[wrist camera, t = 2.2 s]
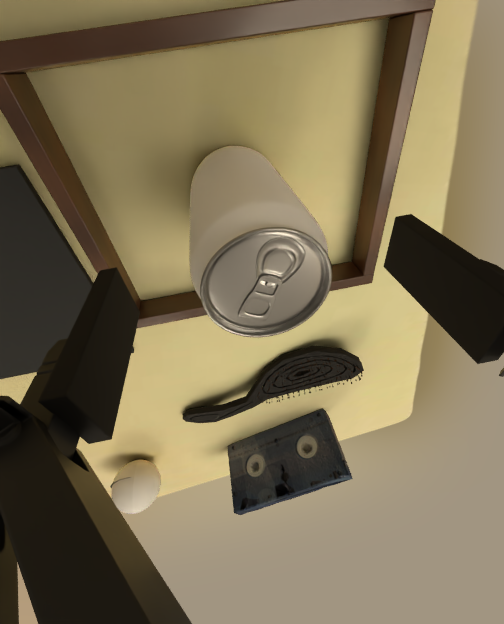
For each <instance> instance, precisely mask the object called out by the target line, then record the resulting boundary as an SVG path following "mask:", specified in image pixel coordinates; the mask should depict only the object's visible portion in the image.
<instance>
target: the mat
mask: <svg viewBox="0 0 504 624" xmlns="http://www.w3.org/2000/svg"><path fill="white" fill-rule="evenodd" d="M92 286H93V282H92V281H91V279H90V277H89V276H88V274H87V272H86V271H85V269H84V268H83V266H82V264H81V263H80V261H79V260H78V258H77V256H76V255H75V253H74V252H73V250H72V248H71V247H70V245H69V244H68V242H67V240H66V239H65V237H64V236H63V234H62V232H61V231H60V229H59V228H58V226H57V224H56V223H55V221H54V219H53V218H52V216H51V215H50V213H49V211H48V210H47V208H46V207H45V205H44V203H43V202H42V200H41V199H40V197H39V195H38V194H37V192H36V191H35V189H34V187H33V186H32V184H31V183H30V181H29V179H28V178H27V176H26V175H25V173H24V171H23V170H22V168H21V166H20V165H13V166H7V167H1V168H0V379H3V378H8V377H13V376H18V375H23V374H28V373H33V372H37V371H38V369H39V367H40V366H42V362H43V360H44V358H45V356H46V354H47V352H48V351H49V350H50V349H51V348H52V347H53V346H54V345H55V344H56V342H57V341H58V340H62V339H67V338H68V336H69V334H70V332H71V330H72V328H73V326H74V324H75V322H76V320H77V317H78V315H79V313H80V311H81V309H82V307H83V305H84V303H85V301H86V298H87V296H88V294H89V292H90V290H91V288H92ZM131 353H134V348H133V346H132V351H131Z"/></svg>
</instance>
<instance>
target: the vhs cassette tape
mask: <svg viewBox="0 0 504 624" xmlns="http://www.w3.org/2000/svg"><path fill="white" fill-rule="evenodd" d="M228 457H229V467H230V477H231V486H232V497H233V507H234V513H236V514H238V515H242V514H245V513H247V512H251V511H255V510H258V509H261V508H263V507H267V506H270V505H273V504H276V503H279V502H282V501H285V500H289V499H292V498H295V497H298V496H301V495H304V494H307V493H311V492H313V491H316V490H319V489H321V488H323V487H327V486H331V485H335V484H338V483H341V482H344V481H347V480H350V479H352V476H351V473H350V471H349V467H348V465H347V462H346V460H345V457H344V454H343V452H342V449H341V446H340V444H339V442H338V439H337V437H336V434H335V431H334V429H333V426H332V423H331V421H330V418H329V416H328V414H327V413H326V412H325V410H324V409H320V410H318V411H315V412H313V413H311V414H308V415H305V416H302V417H300V418H297V419H295V420H292V421H289V422H287V423H285V424H282V425H279V426H277V427H275V428H272V429H269V430H266V431H264V432H261V433H259V434H256V435H254V436H251V437H249V438H246V439H244V440H241V441H239V442H236V443H233V444H231V445H229V446H228Z"/></svg>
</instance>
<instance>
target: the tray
mask: <svg viewBox="0 0 504 624" xmlns="http://www.w3.org/2000/svg"><path fill="white" fill-rule="evenodd" d="M435 1H436V0H284V1H277V2H270V3H264V4H257V5H250V6H243V7H236V8H229V9H222V10H215V11H208V12H201V13H194V14H187V15H180V16H173V17H166V18H159V19H152V20H145V21H138V22H131V23H125V24H118V25H111V26H104V27H97V28H90V29H83V30H76V31H69V32H62V33H55V34H48V35H41V36H34V37H27V38H20V39H13V40H6V41H0V109H1V111H2V113H3V114H4V116H5V118H6V120H7V121H8V123H9V125H10V126H11V128H12V130H13V131H14V133H15V135H16V136H17V138H18V140H19V142H20V143H21V145H22V147H23V148H24V150H25V152H26V153H27V155H28V157H29V158H30V160H31V162H32V163H33V165H34V167H35V169H36V170H37V172H38V174H39V175H40V177H41V179H42V180H43V182H44V184H45V185H46V187H47V189H48V191H49V192H50V194H51V196H52V197H53V199H54V201H55V202H56V204H57V206H58V207H59V209H60V211H61V212H62V214H63V216H64V218H65V219H66V221H67V223H68V224H69V226H70V228H71V229H72V231H73V233H74V234H75V236H76V238H77V240H78V241H79V243H80V245H81V246H82V248H83V250H84V251H85V253H86V255H87V256H88V258H89V260H90V262H91V263H92V265H93V267H94V268H95V270H96V272H97V273H99V271H100V270H105V269H110V268H116V267H117V269H118V271H119V272H120V274H121V276H122V278H123V280H124V282H125V284H126V286H127V288H128V290H129V292H130V294H131V296H132V298H133V299H134V301H135V303H136V305H137V307H138V309H139V311H140V315H139V319H138V324H137V328H141V327H147V326H152V325H157V324H162V323H167V322H172V321H178V320H183V319H188V318H193V317H198V316H203V315H207V313H206V311H205V309H204V307H203V305H202V302H201V299H200V297H199V296H198V294H197V293H196V291H193V292H188V293H183V294H178V295H172V296H167V297H162V298H157V299H151V300H146V301H141V300H140V298H139V296H138V294H137V292H136V290H135V288H134V286H133V284H132V283H131V281H130V279H129V277H128V275H127V273H126V271H125V269H124V267H123V265H122V263H121V261H120V259H119V257H118V255H117V253H116V251H115V249H114V247H113V245H112V243H111V241H110V239H109V237H108V235H107V233H106V231H105V229H104V227H103V225H102V223H101V221H100V219H99V217H98V215H97V213H96V211H95V209H94V207H93V205H92V203H91V201H90V199H89V197H88V195H87V193H86V191H85V189H84V187H83V185H82V183H81V181H80V180H79V178H78V176H77V174H76V172H75V170H74V168H73V166H72V164H71V162H70V160H69V158H68V156H67V154H66V152H65V150H64V148H63V146H62V144H61V142H60V140H59V138H58V136H57V134H56V132H55V130H54V128H53V126H52V124H51V122H50V120H49V118H48V116H47V114H46V112H45V110H44V108H43V106H42V104H41V102H40V100H39V98H38V96H37V94H36V92H35V90H34V88H33V86H32V84H31V82H30V80H29V78H28V77H27V75H26V73H24V72H31V71H38V70H44V69H51V68H58V67H64V66H71V65H78V64H85V63H91V62H98V61H105V60H111V59H118V58H125V57H131V56H138V55H145V54H151V53H158V52H165V51H172V50H178V49H185V48H192V47H198V46H205V45H212V44H218V43H225V42H232V41H238V40H245V39H252V38H259V37H265V36H272V35H279V34H285V33H292V32H299V31H305V30H312V29H319V28H326V27H332V26H339V25H346V24H352V23H359V22H366V21H372V20H379V19H386V18H390V19H389V22H388V29H387V35H386V42H385V48H384V55H383V61H382V68H381V74H380V81H379V87H378V94H377V100H376V107H375V113H374V119H373V126H372V132H371V139H370V145H369V152H368V158H367V165H366V171H365V178H364V184H363V191H362V197H361V204H360V210H359V217H358V223H357V230H356V236H355V243H354V249H353V256H352V262H347V263H341V264H336V265H331V266H332V282H331V287H330V290H329V291H332V290H338V289H343V288H348V287H353V286H358V285H363V284H369V283H372V280H373V276H374V270H375V266H376V262H377V257H378V253H379V248H380V244H381V239H382V235H383V230H384V226H385V222H386V217H387V213H388V208H389V204H390V199H391V195H392V190H393V186H394V182H395V177H396V173H397V168H398V164H399V159H400V155H401V150H402V146H403V142H404V137H405V133H406V128H407V124H408V119H409V115H410V111H411V106H412V102H413V97H414V93H415V88H416V84H417V79H418V75H419V71H420V66H421V62H422V57H423V53H424V48H425V44H426V39H427V35H428V31H429V26H430V22H431V17H432V13H433V10H432V9H433V8H434V5H435Z"/></svg>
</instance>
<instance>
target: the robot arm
mask: <svg viewBox="0 0 504 624" xmlns="http://www.w3.org/2000/svg"><path fill="white" fill-rule="evenodd" d="M384 267H385V268H386V269H387V271H388V272H389V273H390V274H391V275H392V276H393V277H394V278H395V279H396V280H397V281H398V282H399V283H400V284H401V285H402V286H403V287H404V288H405V289H406V290H407V291H408V292H409V293H410V294H411V295H412V296H413V297H414V298H415V300H416V301H417V302H418V303H419V304H420V305H421V306H422V307H423V308H424V309H425V310H426V311H427V312H428V313H429V314H430V315H431V316H432V317H433V318H434V319H435V320H436V321H437V322H438V323H439V324H440V325H441V326H442V327H443V329H445V331H446V332H447V333H448V334H449V335H450V336H451V337H452V338H453V339H454V340H455V341H456V342H457V343H458V344H459V345H460V346H461V347H462V348H463V349H464V350H465V351H466V352H467V353H468V354H469V355H470V357H472V359H473V360H474V361H475V362H476V363H477V364H480V363H485V362H490V361H495V360H498V359H499V358H500V356H501V355H502V354H503V353H504V270H503V269H502V268H500V267H498V266H497V265H494V264H492V263H489V262H487V261H484V260H481V259H480V260H479V259H478V258H476V257H475V256H473V255H472V254H470V253H469V252H467V251H466V250H464V249H463V248H461V247H460V246H458V245H457V244H455V243H454V242H452V241H451V240H449V239H448V238H446V237H445V236H443V235H442V234H440V233H439V232H437V231H436V230H434V229H433V228H431V227H430V226H428V225H427V224H425V223H424V222H422V221H421V220H419V219H418V218H416V217H415V216H413V215H412V214H410V215H404V216H399V217H396V218H395V222H394V226H393V230H392V234H391V238H390V242H389V247H388V251H387V255H386V259H385V263H384ZM139 315H140V311H139V309H138V307H137V305H136V303H135V301H134V299H133V298H132V296H131V294H130V292H129V290H128V288H127V286H126V284H125V282H124V280H123V278H122V276H121V274H120V272H119V271H118V269H117V267H116V268H110V269H105V270H100V271H99V273H98V275H97V277H96V279H95V282H94V284H93V286H92V288H91V290H90V292H89V294H88V296H87V298H86V301H85V303H84V305H83V307H82V309H81V311H80V313H79V315H78V317H77V320H76V322H75V324H74V326H73V328H72V330H71V332H70V334H69V336H68V338H67V339H62V340H58V341H57V342H56V344H55V345H54V346H53V347H52V348H51V349H50V350H49V351H48V352H47V354H46V356H45V358H44V360H43V362H42V366H40V367H39V369H38V371H37V375H36V376H35V377H34V379H33V381H32V383H31V385H30V387H29V389H28V390H27V392H26V394H25V396H24V398H23V400H22V402H21V404H18V403H17V402H16V401H14V400H13V399H12V398H10V397H9V396H0V624H19V615H18V577H17V576H18V574H17V562H18V565H19V568H20V571H21V574H22V577H23V579H24V583H25V586H26V589H27V591H28V594H29V597H30V600H31V603H32V606H33V609H34V612H35V615H36V618H37V621H38V624H192V623H191V622H190V620H189V618H188V617H187V615H186V614H185V612H184V611H183V609H182V608H181V606H180V604H179V603H178V601H177V600H176V598H175V597H174V595H173V594H172V592H171V591H170V589H169V587H168V586H167V585H166V583H165V581H164V580H163V578H162V577H161V575H160V573H159V572H158V570H157V569H156V567H155V566H154V564H153V563H152V561H151V559H150V558H149V557H148V555H147V553H146V552H145V550H144V549H143V547H142V545H141V544H140V543H139V541H138V539H137V538H136V536H135V535H134V533H133V532H132V530H131V529H130V527H129V525H128V524H127V522H126V521H125V519H124V518H123V516H122V514H121V513H120V511H119V510H118V508H117V507H116V505H115V504H114V502H113V500H112V499H111V497H110V496H109V494H108V493H107V491H106V490H105V488H104V487H103V485H102V483H101V482H100V480H99V479H98V477H97V476H96V474H95V473H94V471H93V469H92V468H91V466H90V465H89V463H88V462H87V460H86V459H85V457H84V455H83V454H82V452H81V451H80V450H78V449H77V448H76V447H77V444H78V441H79V437H81V438H82V439H84V440H85V441H86V442H87V443H89V444H91V443H95V442H100V441H105V440H110V439H112V435H113V431H114V426H115V422H116V417H117V413H118V408H119V404H120V399H121V395H122V391H123V386H124V382H125V377H126V373H127V368H128V364H129V359H130V355H131V351H132V346H133V342H134V337H135V333H136V328H137V324H138V319H139ZM499 376H502V377H503V376H504V368H503V369H502V370H501V372H500V374H499Z"/></svg>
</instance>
